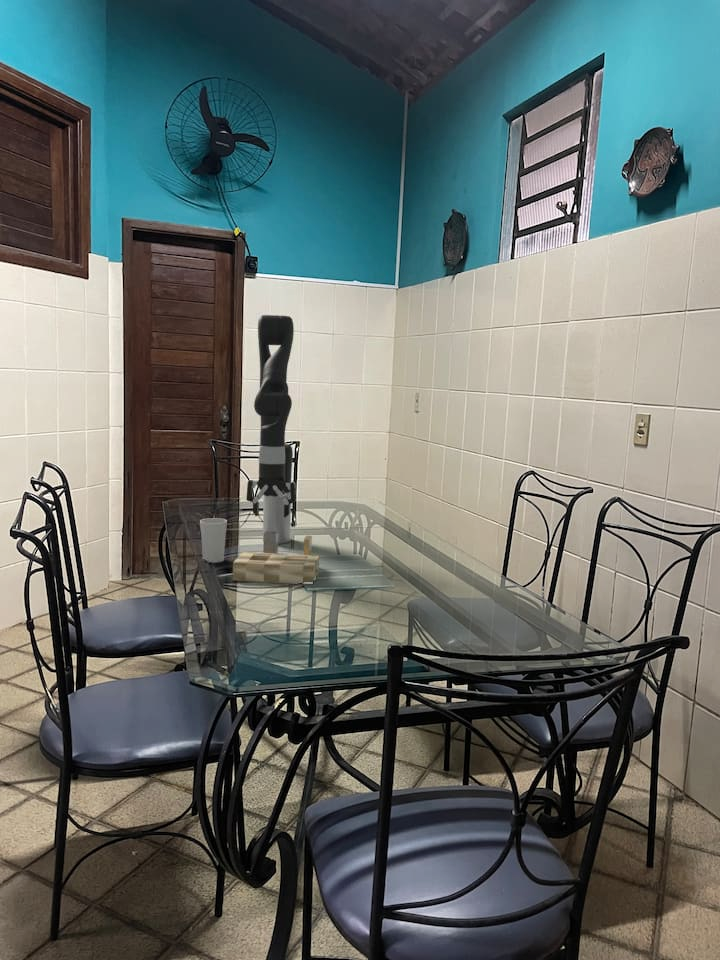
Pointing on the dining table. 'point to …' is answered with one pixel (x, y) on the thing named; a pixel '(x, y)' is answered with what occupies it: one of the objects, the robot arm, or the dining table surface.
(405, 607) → the dining table surface
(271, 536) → the square bit
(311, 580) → the socket block
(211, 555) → the cup
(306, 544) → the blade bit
